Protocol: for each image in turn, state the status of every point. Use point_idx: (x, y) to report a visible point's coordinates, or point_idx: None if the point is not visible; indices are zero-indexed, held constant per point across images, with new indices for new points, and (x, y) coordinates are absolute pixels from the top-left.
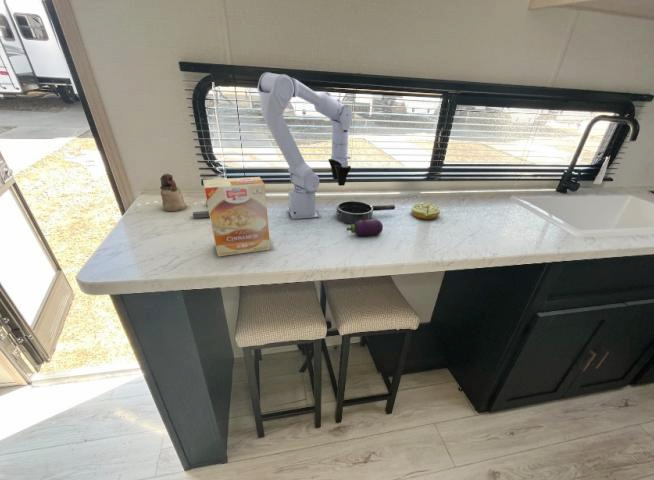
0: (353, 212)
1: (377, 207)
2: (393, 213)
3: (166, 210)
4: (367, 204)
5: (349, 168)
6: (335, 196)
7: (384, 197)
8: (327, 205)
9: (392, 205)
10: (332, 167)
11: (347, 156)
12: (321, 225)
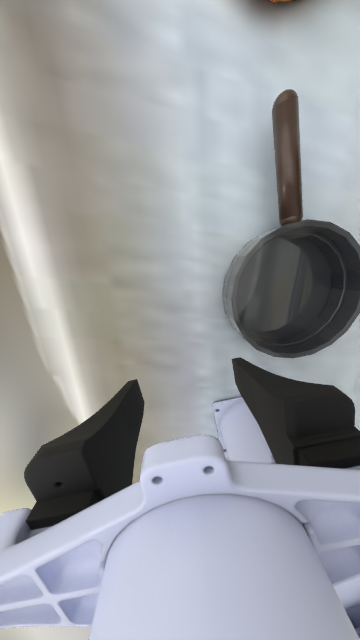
0: (246, 290)
1: (301, 195)
2: (245, 119)
3: None
4: (271, 238)
5: (346, 400)
6: (83, 340)
7: (46, 120)
8: (174, 366)
9: (295, 104)
10: (132, 465)
11: (205, 494)
12: (320, 382)
